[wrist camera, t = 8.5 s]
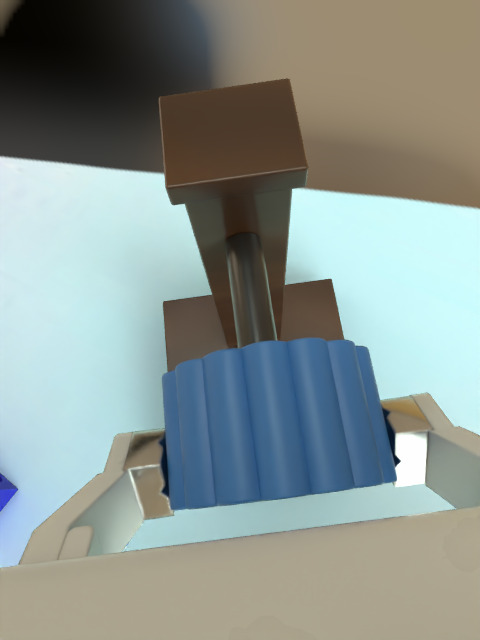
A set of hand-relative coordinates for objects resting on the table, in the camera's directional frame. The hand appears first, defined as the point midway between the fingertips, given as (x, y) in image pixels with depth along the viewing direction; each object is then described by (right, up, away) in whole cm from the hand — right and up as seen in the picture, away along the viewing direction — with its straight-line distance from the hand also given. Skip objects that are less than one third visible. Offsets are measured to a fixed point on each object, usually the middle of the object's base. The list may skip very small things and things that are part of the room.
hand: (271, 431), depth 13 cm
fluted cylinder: (0, -1, +2) cm, 2 cm away
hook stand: (0, 0, +13) cm, 13 cm away
